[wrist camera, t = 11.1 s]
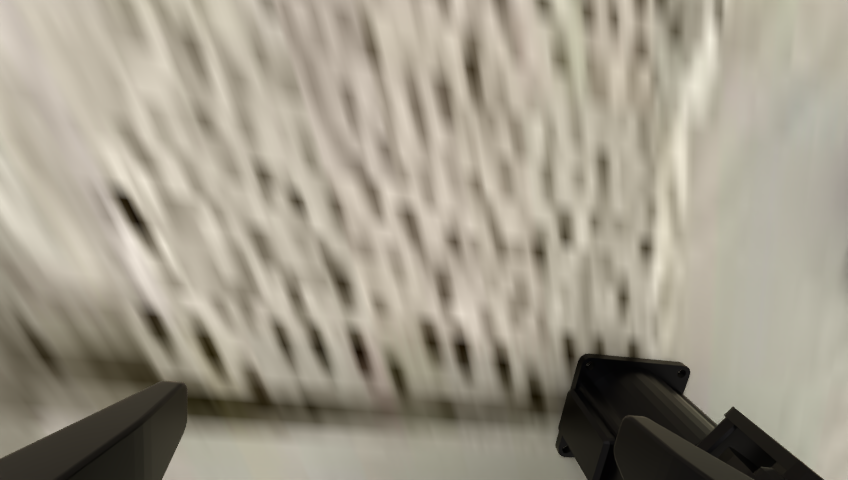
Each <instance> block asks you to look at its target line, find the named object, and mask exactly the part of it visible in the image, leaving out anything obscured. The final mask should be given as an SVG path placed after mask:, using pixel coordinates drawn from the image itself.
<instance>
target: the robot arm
mask: <svg viewBox="0 0 848 480" xmlns="http://www.w3.org/2000/svg"><path fill="white" fill-rule="evenodd" d="M588 362H591V363H590V365H588V366H586V364H587V363H588ZM680 370H681V371H680ZM679 371H680V372H679ZM678 372H679V373H678ZM677 373H678V374H677ZM689 375H690V370H689V368H688V367H687V366H685V365H684V364H683V363H681V362H672V361H662V360H651V359H640V358H629V357H618V356H608V355H597V354H585V355H583V356H581V357H580V359H579V361H578V364H577V368H576V371H575V375H574V379H573V382H572V386H571V389H570V391H569V392H568V394H567V398H566V402H565V405H564V409H563V413H562V416H561V420H560V424H559V434H558V437H557V441H556V449H557V451H558V453H559V454H560V455H561V456H563V457H575V458H576V460H577V462H578V464H579V465H580V467H581V469H582V471H583V472H584V474H585V476H586V478H587V479H588V480H824V479H823V478H822V477H820V476H819V475H818V474H817V473H815V472H814V471H813V470H812V469H810V468H809V467H808V466H807V465H805V464H804V463H803V462H802V461H800V460H799V459H798V458H797V457H795V456H794V455H793V454H792V453H790V452H789V451H788V450H787V449H785V448H784V447H783V446H782V445H780V444H779V443H778V442H777V441H775V440H774V439H773V438H772V437H770V436H769V435H768V434H767V433H765V432H764V431H763V430H762V429H760V428H759V427H758V426H757V425H755V424H754V423H753V422H752V421H750V420H749V419H748V418H747V417H745V416H744V415H743V414H742V413H740V412H739V411H738V410H737V409H735V408H734V407H732V408H731V409H730V410H729V411H728V412H727V413H726V414H725V415H724V416H725V417H726V418H725V419H724V420H722V421H721V422H720V423H719V424H718V425H717V424H716V423H714V422H713V421H712V420H711V419H710V418H709V417H708V416H707V415H706V414H704V413H703V412H702V411H701V410H700V409H699V408H698V407H697V406H696V405H694V404H693V403H692V402H691V401H690V400H689V399H688V398H687V397H685V396H684V395H683V392H684V389H685V387H686V384H687V381H688V378H689ZM186 423H187V386H186V384H185V383H184V382H176V381H161V382H158V383H156V384H154V385H152V386H150V387H148V388H146V389H144V390H142V391H140V392H138V393H136V394H133V395H131V396H129V397H127V398H125V399H123V400H121V401H119V402H117V403H115V404H113V405H111V406H109V407H107V408H104V409H102V410H100V411H98V412H96V413H94V414H92V415H90V416H88V417H86V418H84V419H82V420H80V421H78V422H76V423H73V424H71V425H69V426H67V427H65V428H63V429H61V430H59V431H57V432H55V433H53V434H51V435H49V436H46V437H44V438H42V439H40V440H38V441H36V442H34V443H32V444H30V445H28V446H26V447H24V448H22V449H20V450H17V451H15V452H13V453H11V454H9V455H7V456H5V457H3V458H1V459H0V480H162V478H163V476H164V474H165V472H166V470H167V468H168V465H169V463H170V461H171V459H172V457H173V455H174V452H175V450H176V448H177V446H178V444H179V442H180V440H181V437H182V435H183V433H184V430H185V427H186ZM565 446H567V447H565ZM563 447H565V448H563Z"/></svg>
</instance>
